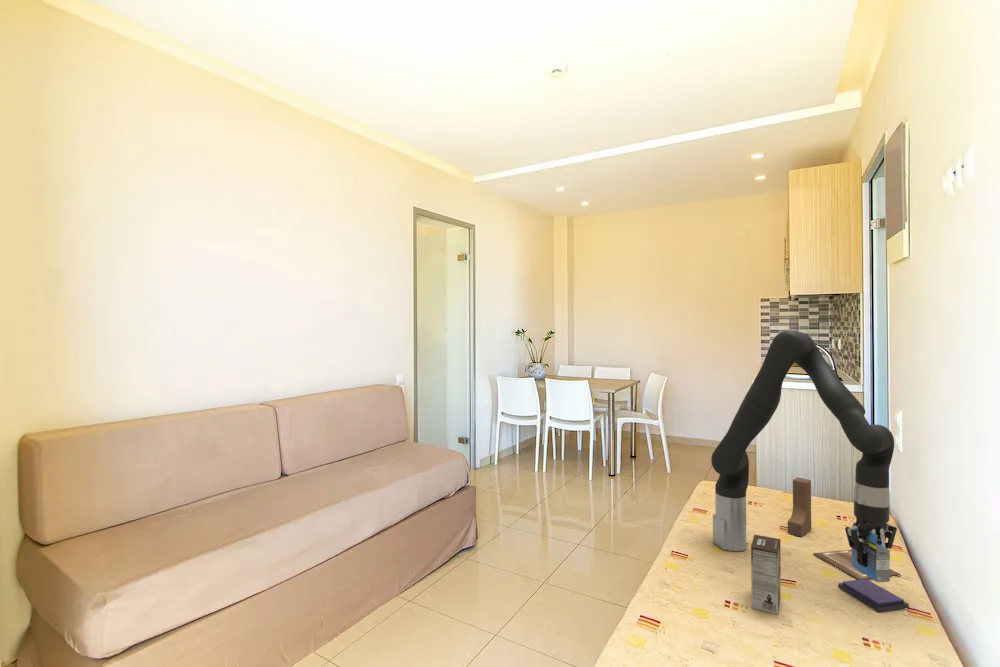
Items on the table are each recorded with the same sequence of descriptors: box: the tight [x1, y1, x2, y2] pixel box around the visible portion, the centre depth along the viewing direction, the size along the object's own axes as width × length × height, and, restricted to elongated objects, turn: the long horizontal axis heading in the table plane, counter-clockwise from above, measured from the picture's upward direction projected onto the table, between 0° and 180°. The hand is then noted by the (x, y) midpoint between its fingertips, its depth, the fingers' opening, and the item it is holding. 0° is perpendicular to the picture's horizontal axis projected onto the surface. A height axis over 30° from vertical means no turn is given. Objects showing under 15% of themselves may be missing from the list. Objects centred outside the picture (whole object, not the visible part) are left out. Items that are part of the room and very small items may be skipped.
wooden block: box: [787, 476, 812, 538], centre depth 171 cm, size 9×4×18 cm, turn 128°
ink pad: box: [837, 579, 910, 614], centre depth 130 cm, size 9×12×2 cm
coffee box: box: [750, 534, 782, 616], centre depth 128 cm, size 9×6×16 cm
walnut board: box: [813, 548, 901, 581], centre depth 147 cm, size 14×16×1 cm
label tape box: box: [851, 521, 891, 583], centre depth 130 cm, size 9×4×12 cm, turn 1°
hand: (870, 564), depth 130 cm, fingers closed on label tape box, 4 cm apart
